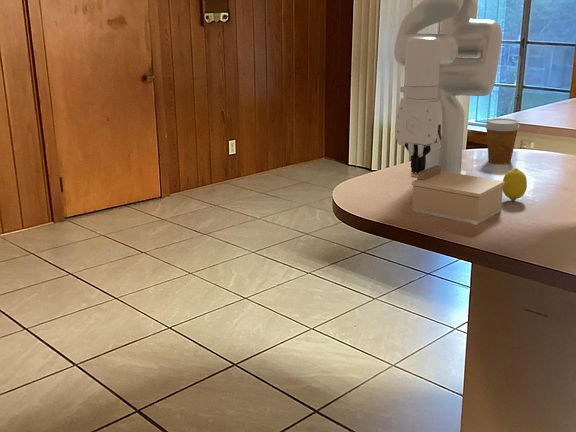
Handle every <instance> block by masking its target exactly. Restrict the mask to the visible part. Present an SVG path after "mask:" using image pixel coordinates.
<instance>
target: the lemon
mask: <svg viewBox="0 0 576 432" xmlns="http://www.w3.org/2000/svg"><path fill="white" fill-rule="evenodd" d="M502 181H505V184H504V185H503V194H504V195H505V196H506V197H507V198H508V199H510V201H511V202H515V201H516V200H517V199H518V200H519V199H520V198H522V197H523V196H524V195H525V193H526V191H527V187H528V181H527V176H526V175H525V173H524V172H523V171H522V170H519V168H517V167H516V168H515V167H514V168H513V169H511V170H509V171H507V172H506V173H505V175H504V176H503V179H502Z"/></svg>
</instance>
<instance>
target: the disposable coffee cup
mask: <svg viewBox="0 0 576 432" xmlns="http://www.w3.org/2000/svg"><path fill="white" fill-rule="evenodd" d="M484 126H485V129H486V142H487V145H486V146H487V158H488V159H487V161H488V163H491V164H494V165H507V164H511V162H512V161H511V160H512V157H513V153H514V148H515V143H516V140H517V134H518V130H519V129H520V127H521V125H520V124H519V120H516V119H512V118H491V119H490V118H489V119H487V120H486V123H485V124H484Z"/></svg>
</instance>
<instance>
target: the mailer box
mask: <svg viewBox="0 0 576 432" xmlns="http://www.w3.org/2000/svg"><path fill="white" fill-rule="evenodd" d="M503 194H504V192H503V186H501V187H499V188H497V189H495V190H493V191H491V192H489V193H487V194H486V195H484V196H482V197H480V198H479V197H474V196H468V195H463V194H458V193H452V192H447V191H441V190H436V189H431V188H425V187H420V186H414V185H412V197H411V198H412V200H411V201H412V203H411V211H412V212H415V213H419V214H423V215H425V214H426V215H429V216H434V217H439V218H443V219H448V220H453V221H458V222H462V223H467V224H471V225H475V226H476V225H477V226H478V225H479V224H481V223H484V222H485V221H486V220H488V219H490V218H492V217H493V216H495V215H496V214H498V213H501V211H502V205H503V203H502V201H503Z"/></svg>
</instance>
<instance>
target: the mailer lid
mask: <svg viewBox="0 0 576 432" xmlns="http://www.w3.org/2000/svg"><path fill="white" fill-rule="evenodd" d="M504 184H505V181H503V180H499V179H495V178H487V177H481V176H474V175H469V174H467V175H463V174H457V173H451V172H445V171H441V166H438V165H436V166H433V167H431V168H428V169H426V170H423V171H421V172H419V173H418V179H417V178H416V179H415V180H413V181H411V186H420V187H425V188H431V189H436V190H441V191H447V192H452V193H458V194H463V195H468V196H474V197H479V198H480V197H482V196H484V195H486V194H487V193H489V192H491V191H493V190H495V189H497V188H499V187H501V186H503V185H504Z"/></svg>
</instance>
